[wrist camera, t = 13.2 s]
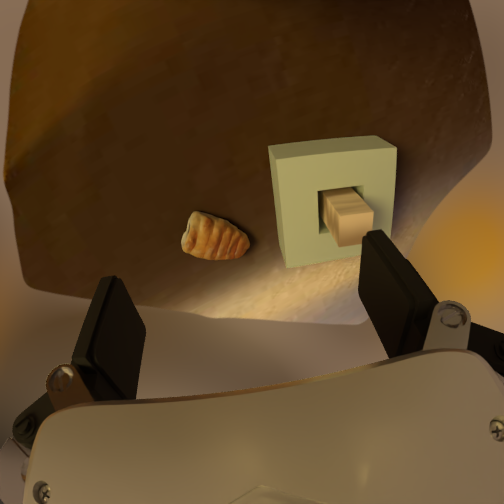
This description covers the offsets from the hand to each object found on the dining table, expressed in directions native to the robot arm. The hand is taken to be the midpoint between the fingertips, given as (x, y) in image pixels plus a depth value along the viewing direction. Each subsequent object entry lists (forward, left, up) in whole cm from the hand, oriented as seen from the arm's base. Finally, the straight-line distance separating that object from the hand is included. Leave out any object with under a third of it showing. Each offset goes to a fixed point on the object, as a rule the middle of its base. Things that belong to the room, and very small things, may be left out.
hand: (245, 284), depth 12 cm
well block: (+11, +12, -30) cm, 34 cm away
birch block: (+11, +12, -29) cm, 33 cm away
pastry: (+15, -4, -31) cm, 34 cm away
